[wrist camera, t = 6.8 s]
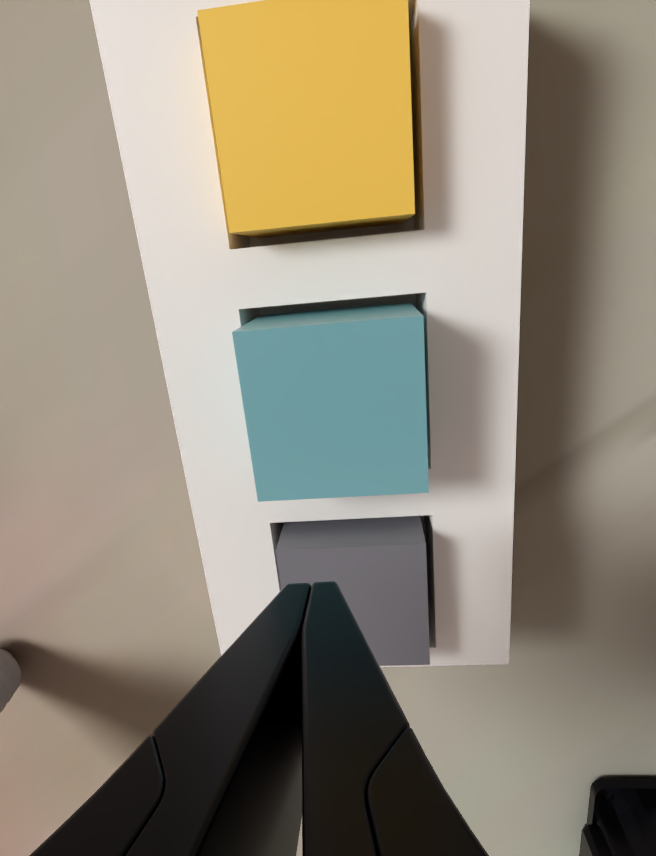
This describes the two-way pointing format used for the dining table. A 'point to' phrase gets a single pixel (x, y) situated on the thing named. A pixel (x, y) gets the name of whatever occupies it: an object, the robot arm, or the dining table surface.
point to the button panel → (342, 300)
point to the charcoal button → (368, 577)
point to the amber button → (311, 113)
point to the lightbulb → (8, 677)
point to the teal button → (335, 402)
